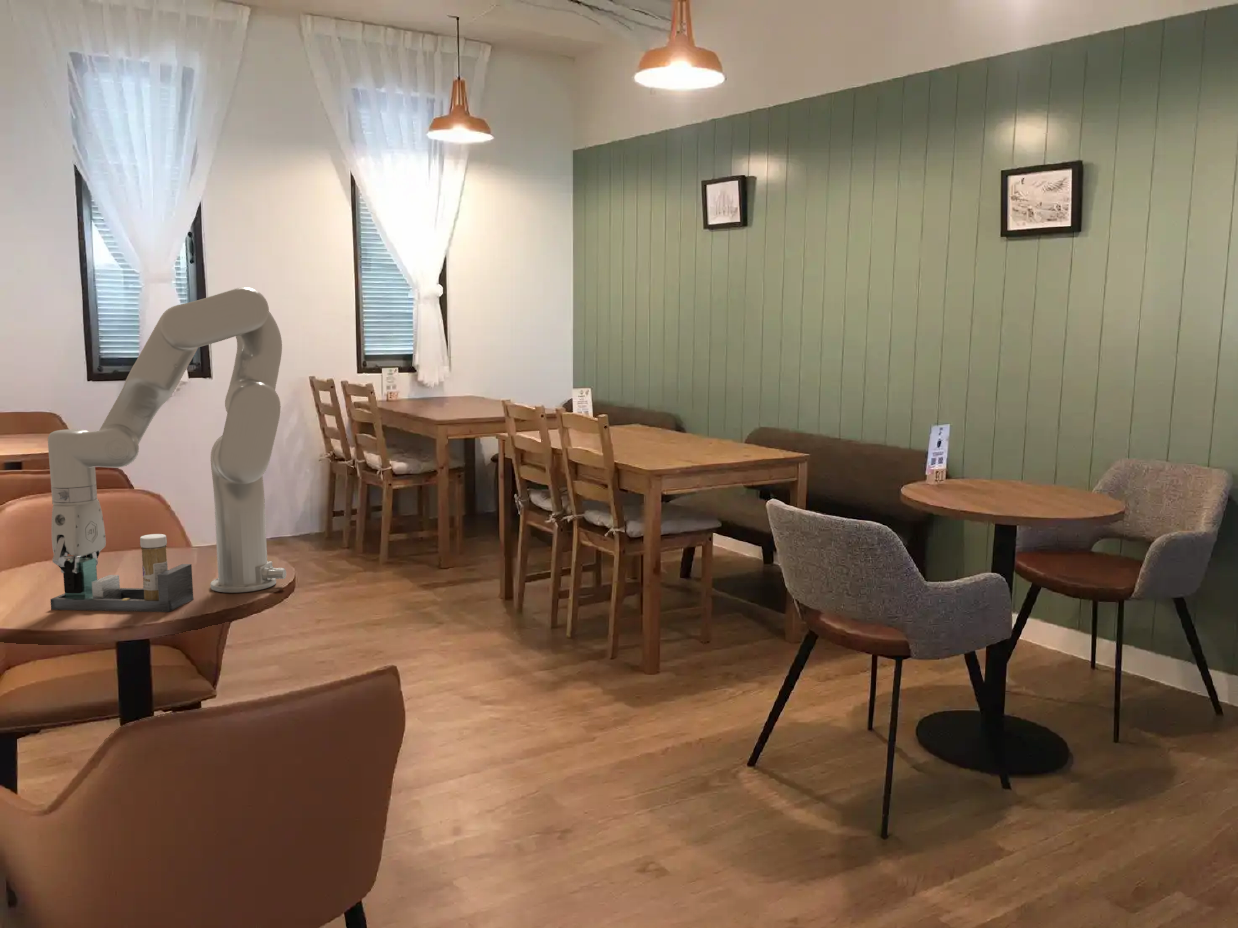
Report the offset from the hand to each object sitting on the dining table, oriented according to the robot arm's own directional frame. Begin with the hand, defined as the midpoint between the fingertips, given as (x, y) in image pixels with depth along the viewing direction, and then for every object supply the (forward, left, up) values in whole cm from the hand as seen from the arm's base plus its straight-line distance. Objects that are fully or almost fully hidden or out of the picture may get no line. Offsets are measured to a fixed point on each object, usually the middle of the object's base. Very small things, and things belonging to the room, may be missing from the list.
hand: (81, 588), depth 192 cm
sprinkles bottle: (-15, 0, -3) cm, 15 cm away
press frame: (-8, 0, -3) cm, 9 cm away
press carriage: (-2, 0, -3) cm, 4 cm away
